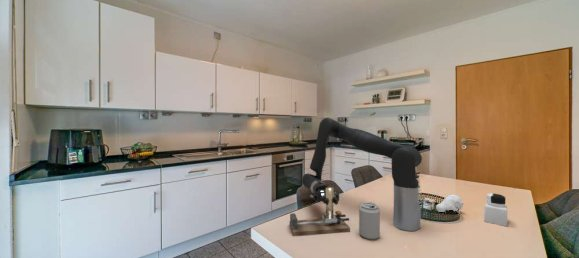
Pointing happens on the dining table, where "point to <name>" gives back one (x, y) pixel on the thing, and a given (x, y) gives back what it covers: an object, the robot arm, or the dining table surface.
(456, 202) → the white cloth bundle
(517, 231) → the dining table surface
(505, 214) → the medicine bottle
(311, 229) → the track
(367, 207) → the can
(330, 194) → the slider
